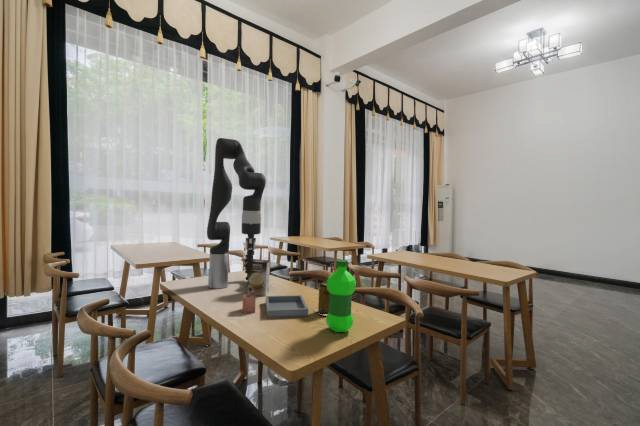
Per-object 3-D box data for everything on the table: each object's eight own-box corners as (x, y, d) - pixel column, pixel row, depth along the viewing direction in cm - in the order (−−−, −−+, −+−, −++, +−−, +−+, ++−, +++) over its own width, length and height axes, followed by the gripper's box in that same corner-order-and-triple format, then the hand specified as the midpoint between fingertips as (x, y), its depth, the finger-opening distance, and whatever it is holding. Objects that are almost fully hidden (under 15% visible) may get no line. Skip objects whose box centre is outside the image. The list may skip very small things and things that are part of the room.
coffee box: (246, 294, 147) (247, 261, 146) (251, 291, 153) (252, 258, 152) (265, 296, 146) (266, 262, 145) (269, 292, 152) (270, 259, 152)
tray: (267, 318, 119) (267, 310, 119) (265, 302, 136) (265, 296, 136) (308, 316, 122) (308, 309, 122) (301, 301, 140) (301, 295, 140)
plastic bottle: (359, 330, 110) (362, 261, 109) (340, 339, 103) (343, 264, 102) (338, 322, 117) (341, 256, 116) (319, 329, 110) (321, 259, 109)
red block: (242, 313, 123) (242, 298, 123) (242, 308, 128) (243, 294, 128) (255, 312, 124) (255, 298, 124) (255, 308, 129) (255, 294, 129)
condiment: (329, 308, 132) (330, 280, 132) (338, 315, 124) (340, 286, 124) (313, 310, 129) (314, 282, 128) (322, 318, 121) (323, 287, 121)
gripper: (242, 220, 131) (241, 258, 132) (240, 223, 117) (239, 265, 118) (260, 220, 132) (259, 258, 133) (261, 223, 119) (259, 265, 119)
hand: (250, 261), depth 125 cm, fingers open, 8 cm apart
